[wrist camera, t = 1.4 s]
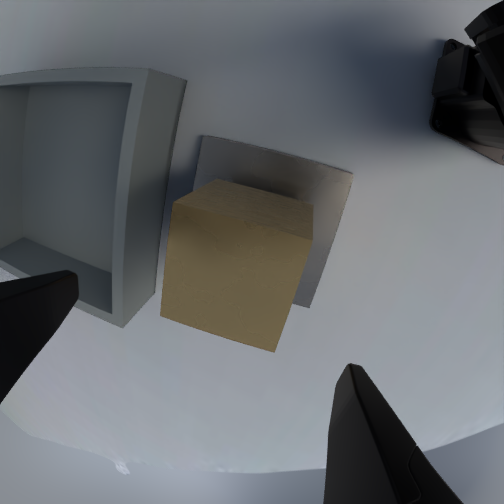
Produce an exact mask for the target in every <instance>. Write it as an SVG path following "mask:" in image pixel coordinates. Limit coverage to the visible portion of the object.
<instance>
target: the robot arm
mask: <svg viewBox="0 0 504 504" xmlns="http://www.w3.org/2000/svg"><path fill="white" fill-rule="evenodd" d="M464 30H465V31H466V33H467V35H468V36H469V38H470V39H472V40H473V41H474V43H475V45H476V46H475V47H471V46H470V45H464V44H462V43H460V42H458V41H456V40H454V39H449V40H447V41H446V42H445V45H444V51H443V57H442V58H440V59H438V63H437V68H436V74H435V79H434V84H433V89H432V95H433V98H435V99H434V103H433V108H432V112H431V116H430V120H429V124H430V127H431V129H432V130H434V131H435V132H438V133H440V134H442V135H444V136H446V137H448V138H451V139H453V140H455V141H457V142H459V143H461V144H463V145H465V146H467V147H469V148H471V149H473V150H475V151H477V152H479V153H480V154H482V155H484V156H486V157H488V158H490V159H491V160H493V161H495V162H497V163H499V164H500V165H504V161H503V159H502V157H503V155H504V0H503V1H501V2H499V3H497V4H495V5H493V6H491V7H489V8H488V9H486V10H484V11H483V12H482V13H481V14H480V15H478V16H477V17H476V18H475V19H474V20H473V21H472V22H471V23H470V24H469V25H468V26H467V27H466V28H465V29H464ZM450 44H452V45H454V47H455V50H454V49H452V48H451V46H450ZM436 120H438V121H439V122H440V126H439V127H436V125H435V121H436ZM78 298H79V283H78V275H77V274H76V273H75V272H72V271H70V270H62V271H56V272H51V273H46V274H41V275H36V276H31V277H26V278H21V279H15V280H10V281H5V282H0V404H1V402H2V401H3V400H4V398H5V397H6V395H7V394H8V393H9V391H10V390H11V388H12V387H13V386H14V384H15V383H16V382H17V380H18V379H19V378H20V376H21V375H22V374H23V372H24V371H25V370H26V368H27V367H28V366H29V365H30V363H31V362H32V361H33V359H34V358H35V357H36V356H37V354H38V353H39V352H40V351H41V349H42V348H43V347H44V346H45V344H46V343H47V342H48V341H49V340H50V338H51V337H52V336H53V335H54V333H55V332H56V331H57V329H58V328H59V327H60V325H61V324H62V322H63V321H64V319H65V318H66V316H67V315H68V313H69V312H70V310H71V309H72V307H73V306H74V305H75V303H76V302H77V300H78ZM323 504H463V503H462V501H461V500H460V499H459V498H458V497H457V495H456V494H455V493H454V492H453V491H452V489H451V488H450V487H449V486H448V485H447V484H446V482H445V481H444V480H443V479H442V478H441V476H440V475H439V474H438V473H437V471H436V470H435V469H434V468H433V466H432V465H431V464H430V462H429V461H428V460H427V458H426V457H425V455H424V454H423V453H422V451H421V450H420V448H419V447H418V446H416V443H415V441H414V440H413V438H412V437H411V435H410V434H409V432H408V431H407V430H406V428H405V427H404V425H403V424H402V422H401V421H400V420H399V418H398V417H397V415H396V414H395V412H394V411H393V410H392V408H391V407H390V405H389V404H388V402H387V401H386V400H385V398H384V397H383V395H382V394H381V393H380V391H379V390H378V388H377V387H376V386H375V384H374V383H373V381H372V380H371V379H370V377H369V376H368V374H367V373H366V372H365V370H364V369H363V367H362V366H360V365H356V364H352V363H350V364H348V365H347V366H346V367H345V369H344V371H343V373H342V374H341V376H340V378H339V380H338V381H337V384H336V387H335V393H334V400H333V406H332V412H331V418H330V425H329V432H328V449H327V465H326V479H325V491H324V502H323Z"/></svg>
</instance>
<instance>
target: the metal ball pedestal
mask: <svg viewBox="0 0 504 504" xmlns="http://www.w3.org/2000/svg"><path fill="white" fill-rule="evenodd" d="M353 178H354V174H353V173H351V172H347V171H344V170H341V169H338V168H335V167H331V166H328V165H325V164H321V163H318V162H314V161H311V160H307V159H304V158H300V157H296V156H293V155H289V154H285V153H281V152H278V151H274V150H270V149H266V148H262V147H257V146H253V145H249V144H245V143H240V142H236V141H231V140H227V139H222V138H217V137H212V136H203V139H202V144H201V149H200V154H199V159H198V165H197V170H196V175H195V181H194V186H193V191H195V190H196V189H198V188H200V187H202V186H204V185H206V184H208V183H210V182H212V181H214V180H215V179H220V180H224V181H228V182H232V183H236V184H240V185H244V186H248V187H252V188H256V189H259V190H263V191H267V192H271V193H274V194H278V195H282V196H285V197H289V198H292V199H296V200H299V201H303V202H306V203H310V204H313V242H312V245H311V248H310V251H309V254H308V257H307V260H306V263H305V266H304V269H303V272H302V275H301V278H300V281H299V284H298V287H297V290H296V293H295V296H294V299H293V302H292V303H293V304H296V305H300V306H303V307H307V308H310V305H311V302H312V300H313V297H314V294H315V292H316V289H317V286H318V283H319V281H320V278H321V275H322V272H323V269H324V267H325V264H326V261H327V258H328V255H329V252H330V249H331V247H332V244H333V241H334V238H335V235H336V232H337V229H338V226H339V223H340V219H341V216H342V213H343V210H344V207H345V204H346V201H347V197H348V194H349V191H350V188H351V184H352V181H353Z"/></svg>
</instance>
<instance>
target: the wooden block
mask: <svg viewBox="0 0 504 504" xmlns="http://www.w3.org/2000/svg"><path fill="white" fill-rule="evenodd" d="M312 242H313V204H310V203H306V202H303V201H299V200H296V199H292V198H289V197H285V196H282V195H278V194H274V193H271V192H267V191H263V190H259V189H256V188H252V187H248V186H244V185H240V184H236V183H232V182H228V181H224V180H220V179H215V180H214V181H212V182H210V183H208V184H206V185H204V186H202V187H200V188H198V189H196V190H195V191H193V192H191V193H189V194H187V195H185V196H183V197H182V198H180V199H178V200H176V201H174V202H173V206H172V213H171V220H170V227H169V235H168V243H167V251H166V260H165V269H164V279H163V289H162V300H161V312H160V316H162V317H165V318H168V319H170V320H173V321H176V322H179V323H182V324H185V325H187V326H190V327H193V328H196V329H199V330H202V331H205V332H208V333H211V334H214V335H218V336H221V337H224V338H227V339H230V340H233V341H237V342H240V343H243V344H247V345H250V346H253V347H257V348H260V349H264V350H267V351H271V352H275V350H276V347H277V344H278V341H279V339H280V336H281V333H282V330H283V328H284V325H285V322H286V319H287V316H288V314H289V311H290V308H291V305H292V302H293V299H294V296H295V293H296V290H297V287H298V284H299V281H300V278H301V275H302V272H303V269H304V266H305V263H306V260H307V257H308V254H309V251H310V248H311V245H312Z"/></svg>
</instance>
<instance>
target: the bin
mask: <svg viewBox="0 0 504 504" xmlns="http://www.w3.org/2000/svg"><path fill="white" fill-rule="evenodd" d="M186 83H187V81H186V80H184V79H181V78H177V77H174V76H171V75H168V74H165V73H162V72H158V71H155V70H152V69H145V68H116V67H94V68H66V69H51V70H39V71H30V72H21V73H14V74H7V75H0V267H1V268H3V269H4V270H6V271H8V272H10V273H11V274H13V275H15V276H17V277H18V278H20V279H21V278H26V277H31V276H36V275H41V274H46V273H51V272H56V271H62V270H70V271H72V272H75V273H76V274H77V275H78V283H79V298H78V300H77V302H76V303H75V305H74V307H76V308H78V309H81V310H83V311H85V312H87V313H89V314H91V315H94V316H96V317H98V318H100V319H102V320H105V321H107V322H109V323H112V324H114V325H116V326H118V327H121V328H124V326H125V325H126V324H127V323H128V322H129V321H130V320H131V319H132V318H133V316H134V315H135V314H136V313H137V312H138V311H139V310H140V309H141V308H142V306H143V305H144V304H145V303H146V302H147V301H148V300H149V299H150V298H151V297H152V296H153V294H154V293H155V285H156V273H157V263H158V253H159V244H160V235H161V227H162V219H163V211H164V204H165V197H166V190H167V183H168V177H169V170H170V164H171V158H172V153H173V147H174V141H175V136H176V131H177V126H178V121H179V116H180V111H181V106H182V101H183V97H184V92H185V88H186Z"/></svg>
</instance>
